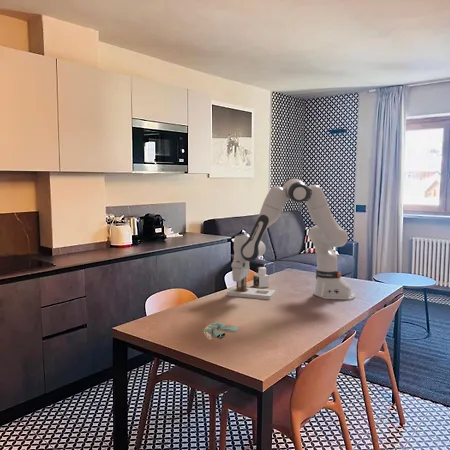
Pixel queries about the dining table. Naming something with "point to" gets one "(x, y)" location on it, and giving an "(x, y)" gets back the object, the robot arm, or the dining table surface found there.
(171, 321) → the dining table surface
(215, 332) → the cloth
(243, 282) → the walnut block
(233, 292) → the parts plate
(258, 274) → the medicine bottle
